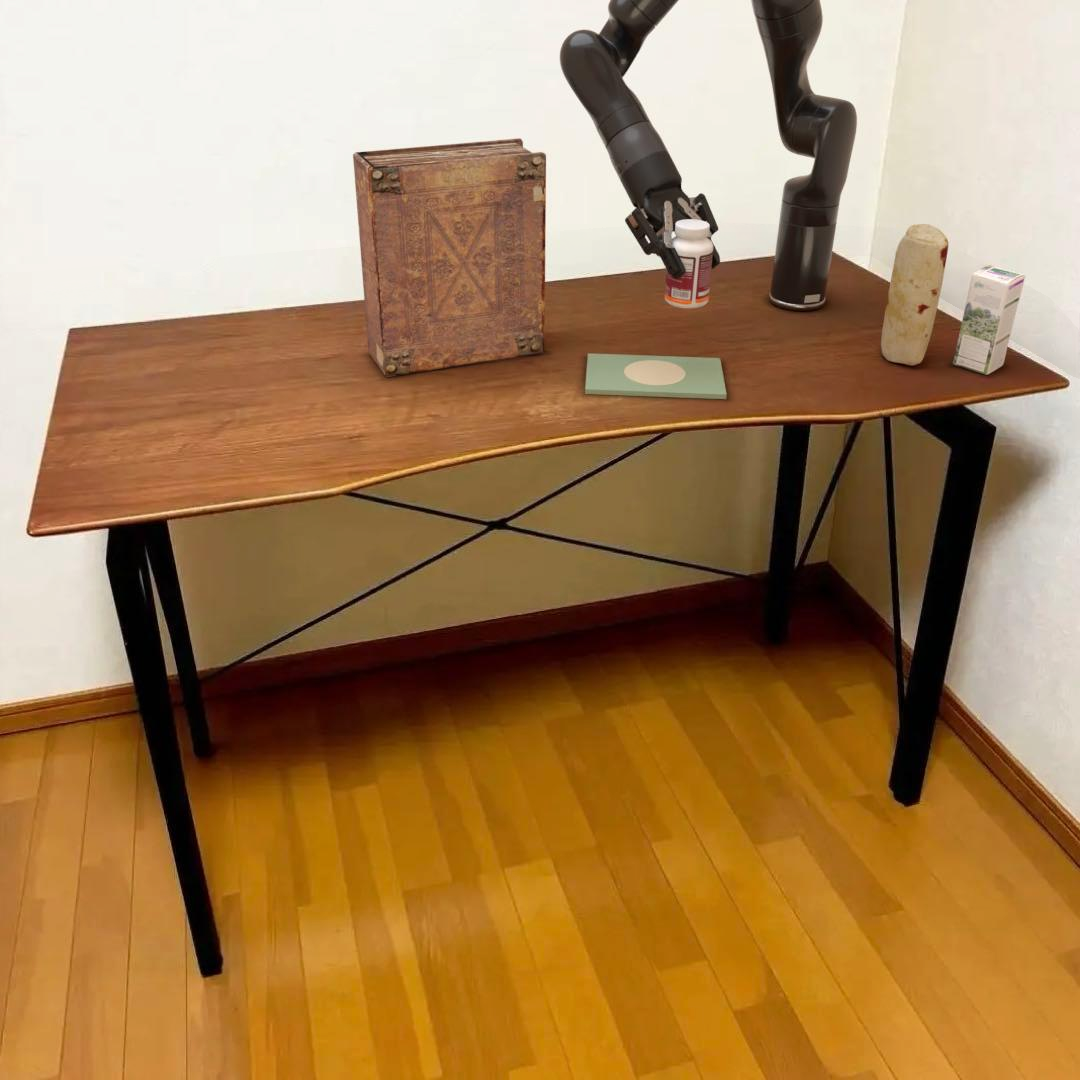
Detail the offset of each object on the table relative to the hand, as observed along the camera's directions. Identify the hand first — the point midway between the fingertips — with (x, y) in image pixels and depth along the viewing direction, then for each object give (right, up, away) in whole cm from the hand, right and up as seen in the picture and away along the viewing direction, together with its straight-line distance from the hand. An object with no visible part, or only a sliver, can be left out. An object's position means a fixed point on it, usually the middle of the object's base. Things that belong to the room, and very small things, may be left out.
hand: (697, 270), depth 153 cm
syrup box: (+45, -11, +16) cm, 49 cm away
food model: (+34, -9, +18) cm, 39 cm away
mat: (-5, -13, +11) cm, 18 cm away
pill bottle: (-1, -4, +4) cm, 5 cm away
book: (-34, -9, +17) cm, 40 cm away
